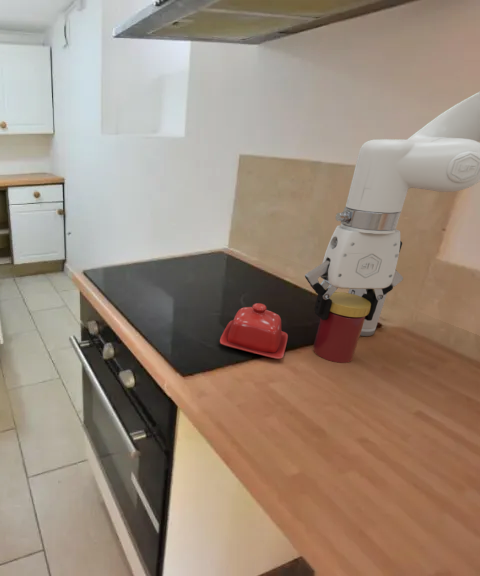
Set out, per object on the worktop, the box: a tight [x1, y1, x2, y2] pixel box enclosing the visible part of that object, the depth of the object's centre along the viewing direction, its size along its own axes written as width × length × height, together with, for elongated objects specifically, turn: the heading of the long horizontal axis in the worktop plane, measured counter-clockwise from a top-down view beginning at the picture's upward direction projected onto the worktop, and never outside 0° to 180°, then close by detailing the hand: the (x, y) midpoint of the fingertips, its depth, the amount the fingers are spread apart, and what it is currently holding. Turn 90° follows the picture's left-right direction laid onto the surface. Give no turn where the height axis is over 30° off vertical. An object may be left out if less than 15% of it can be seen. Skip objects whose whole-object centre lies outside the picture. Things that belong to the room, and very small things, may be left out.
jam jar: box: [312, 312, 366, 364], centre depth 70 cm, size 7×7×11 cm
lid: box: [330, 291, 371, 317], centre depth 68 cm, size 7×7×2 cm
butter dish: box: [219, 302, 289, 360], centre depth 73 cm, size 12×12×8 cm
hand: (342, 316), depth 69 cm, fingers closed on lid, 7 cm apart
